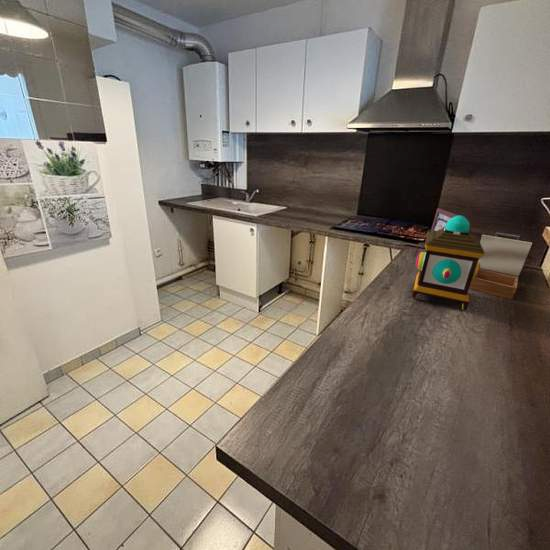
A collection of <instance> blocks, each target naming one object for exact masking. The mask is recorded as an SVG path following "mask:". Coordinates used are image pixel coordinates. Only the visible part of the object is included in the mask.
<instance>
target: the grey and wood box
mask: <svg viewBox="0 0 550 550" xmlns="http://www.w3.org/2000/svg"><path fill="white" fill-rule="evenodd" d="M520 238H521V235H518V234H511V233H505V232H498V231H496V232H495V233H494V236H493V235H489V234H481V237H480V240H479V241H480V244H481V246H482V248H483V250H484V255H483V256H482V257H481V258H480V259H479V260H478V262H479V263H480V269H483V270H488V271H492V272H497V273H502V274H506V275H511V276H515V277H520V274H521V272H522V270H523V268H524V265H525V262H526V260H527V257H528V255H529V252H530V250H531V247H532V245H533V242H531V241H525V240H520Z"/></svg>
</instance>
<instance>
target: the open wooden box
mask: <svg viewBox="0 0 550 550" xmlns="http://www.w3.org/2000/svg"><path fill="white" fill-rule="evenodd" d="M518 281H519V276H515V275H510V274H506V273H501V272H496V271H492V270H487V269H483V268H480V271H479V274H478V276H477V277H476V278H475V279H472V281H471V284H470V287H469V290H473V291H477V292H481V293H485V294H488V295H493V296H496V297H500V298H504V299H508V300H512V301H513V299H514V296H515V294H516V292H517V289H518V283H519V282H518Z"/></svg>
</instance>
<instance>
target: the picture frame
mask: <svg viewBox="0 0 550 550" xmlns="http://www.w3.org/2000/svg"><path fill="white" fill-rule="evenodd" d="M455 216H459V214H456V213H453V212H450V211H448V210H444V209H442V208H439V207H438V208H436V211H435V215H434V219H433V222H432V226H431V229H430V232H432V231H433V230H435V231H438V230H441V229H442V228H444V227H445V226H446V224H447V222H448V221H449V220H450V219H451V218H453V217H455ZM425 251H426V249H425V250H424V252H425Z"/></svg>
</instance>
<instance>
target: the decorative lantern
mask: <svg viewBox="0 0 550 550" xmlns="http://www.w3.org/2000/svg"><path fill="white" fill-rule="evenodd" d="M470 227H471V226H470V221H469V220H468V219H467V218H466V217H465V216H464V215H459V214H458V216H455V217H453V218H451V219H450V220H449V221H448V222H447V224H446V226H445V227H444V228H442V229H441V230H438V231H435V230H433V231H432V232H431V231H429V232H428V233H426V236H425V242H424V249H425V250H426V251H425V250H424V251H422V252H420V253H419V254H418V255H417V258H416V260H415V268H416V269H417V270H418V272H417V274H416V275H415V279H414V284H413V287H412V288H413V289H412V294H411V298H412V299H414V300H415V299H417V296H418V294H419V295H424V296H425V295H426V296H430V297H435V298H438V299H444V300H449V301H453V302H456V303H457V302H458V303H461V309H462V310H463V311H466V310H467V309H468V307H469V304H470V297H469V290H470V289H469V287H470V284H471V281H472V279H475V278H476V277H477V276H478V274H479V271H480V269H481V268H480V263H479V262H478V260H479V259H480V258H481V257H482V256H483V255H484V250H483V248H482V246H481V244H480V241H481V240H479V238H478V237H477V236H476V235H473V234H472V233H470Z"/></svg>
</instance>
